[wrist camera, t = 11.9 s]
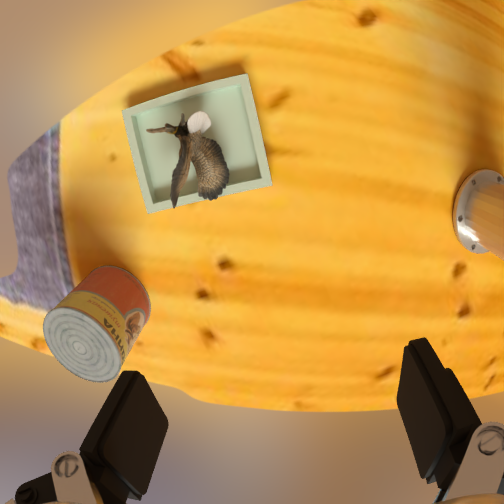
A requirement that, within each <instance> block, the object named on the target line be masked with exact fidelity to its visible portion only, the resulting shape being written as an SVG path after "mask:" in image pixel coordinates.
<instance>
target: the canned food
mask: <svg viewBox="0 0 504 504" xmlns="http://www.w3.org/2000/svg"><path fill="white" fill-rule="evenodd" d="M150 312H151V304H150V299H149V296H148V294H147V292H146V290H145V288H144V287H143V285H142V284H141V282H140V281H139V280H138V279H137V278H136V277H135V276H133V275H132V274H131V273H129V272H128V271H126V270H124V269H122V268H119V267H116V266H101V267H98V268H96V269H94V270H93V271H92V272H91V273H90V274H89V275H88V276H87V277H86V278H85V279H84V280H83V281H82V282H81V283H80V284H79V285H78V286H77V287H76V288H74V289H73V290H72V291H71V292H70V293H69V294H68V295H67V296H66V297H65V298H64V299H63V300H62V301H61V302H60V303H59V304H58V305H57V306H56V307H55V308H54V309H52V310H51V311H50V312H49V313H48V314H47V315H46V317H45V319H44V322H43V332H44V337H45V340H46V343H47V345H48V347H49V349H50V350H51V352H52V354H53V355H54V356H55V358H56V359H57V360H58V361H59V362H60V363H61V364H62V365H63V366H64V367H65V368H66V369H68V370H69V371H70V372H72V373H73V374H75V375H76V376H78V377H80V378H82V379H85V380H88V381H92V382H100V383H101V382H108V381H110V380H112V379H114V378H115V377H116V376H117V375H118V374H119V372H120V369H121V366H122V365H123V363H124V361H125V359H126V357H127V355H128V354H129V352H130V350H131V348H132V346H133V345H134V343H135V341H136V339H137V337H138V336H139V334H140V332H141V330H142V328H143V327H144V325H145V324H146V323H147V321H148V319H149V316H150Z"/></svg>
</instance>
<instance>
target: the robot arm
mask: <svg viewBox="0 0 504 504" xmlns="http://www.w3.org/2000/svg"><path fill="white" fill-rule="evenodd" d="M453 224H454V230H455V233H456V236H457V238H458V240H459V242H460V243H461V244H462V245H463V246H464V247H465V248H466V249H468V250H469V251H471V252H473V253H486V252H489V251H490V252H492V253H493V254H495V255H496V256H498V257H499V258H501V259H502V260H503V261H504V177H503V176H502V175H501V174H499V173H498V172H496V171H493V170H488V169H481V170H478V171H475V172H474V173H472V174H471V175H469V176H468V177H467V179H466V180H465V181H464V182H463V184H462V185H461V187H460V189H459V191H458V193H457V196H456V199H455V203H454V209H453ZM397 405H398V408H399V411H400V414H401V417H402V420H403V423H404V426H405V428H406V432H407V434H408V438H409V441H410V444H411V447H412V450H413V454H414V457H415V460H416V463H417V467H418V470H419V473H420V476H421V478H422V479H424V478H426V480H427V484H430V483H432V482H437V485H438V488H440V491H439V492H438V495H437V496H436V499H435V500H434V502H433V504H504V425H503V424H501V423H498V422H488V423H484V424H482V423H481V421H480V419H479V418H478V416H477V414H476V412H475V410H474V408H473V406H472V404H471V402H470V401H469V399H468V397H467V395H466V393H465V392H464V390H463V388H462V386H461V385H460V383H459V381H458V379H457V378H456V376H455V374H454V373H453V371H452V370H451V369H450V368H446V369H445V368H444V367H443V365H442V363H441V361H440V360H439V358H438V356H437V355H436V353H435V351H434V350H433V348H432V346H431V345H430V343H429V342H428V340H427V339H426V338H425V337H424V338H420V339H416V340H411V341H410V342H409V344H408V346H405V347H404V353H403V361H402V368H401V375H400V381H399V387H398V393H397ZM167 429H168V420H167V417H166V415H165V414H164V412H163V410H162V408H161V407H160V405H159V403H158V401H157V400H156V398H155V396H154V394H153V392H152V390H151V388H150V386H149V384H148V383H147V381H146V379H145V377H144V376H143V375H141V374H140V372H138V371H123V372H122V373H121V375H120V376H119V378H118V380H117V382H116V383H115V385H114V387H113V389H112V390H111V392H110V394H109V396H108V397H107V399H106V401H105V403H104V405H103V406H102V408H101V410H100V412H99V413H98V415H97V417H96V419H95V421H94V423H93V424H92V426H91V428H90V430H89V432H88V434H87V436H86V437H85V439H84V441H83V443H82V445H81V447H80V449H79V450H80V451H81V452H80V454H78V453H75V452H73V451H67V452H63V453H61V454H59V455H58V456H57V457H56V458H55V459H54V461H53V462H52V466H51V472H50V473H48V474H45V475H43V476H41V477H38V478H36V479H34V480H31V481H28V482H26V483H24V484H22V485H21V486H20V487H19V488H18V489H17V491H16V495H15V500H13V499H11V500H10V501H8V502H7V503H5V504H126V500H127V498H130V499H135V500H139V501H140V500H141V497H142V495H144V494H145V493H146V492H147V489H148V486H149V483H150V480H151V477H152V474H153V471H154V468H155V465H156V462H157V459H158V456H159V452H160V450H161V446H162V444H163V441H164V438H165V435H166V432H167Z"/></svg>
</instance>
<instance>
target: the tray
mask: <svg viewBox="0 0 504 504" xmlns="http://www.w3.org/2000/svg"><path fill="white" fill-rule="evenodd" d="M197 111H204V112H205V113H207V114H208V116H209V118H210V120H211V126H210V127H209V128H208V129H207V130H206V131H205V132H204V133H203V134H202V137H206V139H207V138H209V139H213V140H214V141H216V142H217V144H219V145H220V147H221V150H222V154H223V155H224V158H225V160H224V161H226V163H227V167H228V169H229V174H230V175H229V183H228V184H226V188H225V189H223V192H222V195H218V197H220V196H225V195H229V194H234V193H238V192H243V191H248V190H253V189H258V188H262V187H267V186H272V181H271V176H270V171H269V166H268V162H267V157H266V152H265V148H264V143H263V139H262V134H261V130H260V125H259V121H258V116H257V112H256V108H255V103H254V99H253V95H252V90H251V86H250V82H249V78H248V74H242V75H238V76H233V77H229V78H224V79H220V80H216V81H212V82H208V83H205V84H201V85H197V86H194V87H190V88H187V89H183V90H180V91H177V92H174V93H170V94H167V95H164V96H161V97H158V98H155V99H152V100H149V101H146V102H144V103H141V104H138V105H135V106H133V107H130V108H127V109H125V110H122V114H123V119H124V123H125V128H126V132H127V137H128V141H129V145H130V149H131V153H132V157H133V161H134V165H135V169H136V173H137V177H138V181H139V184H140V188H141V192H142V195H143V199H144V202H145V206H146V209H147V213H148V214H150V213H153V212H157V211H161V210H165V209H169V208H173V206H172V202H171V197H170V194H171V184H172V182H171V181H172V174H173V170H174V169H175V168H176V164H177V163H178V160H179V150H180V147H181V145H180V141H179V139H178V138H177V137H175V135H174V134H168V133H166V132H162V133H149V132H147V131H146V129H156V128H161V127H165V124H166V123H168V124H170V125H172V126H178V125H179V123H180V121H181V114H182V113H183V114H184V116H185V122H186V121H187V120H188V118H189V117H190V116H191V115H192V114H194V113H195V112H197ZM207 199H208V198H207ZM207 199H204V198H203V197H199V196H198V179H197V175H196V170H195V167H194V165H193V163H192V162H190V169H189V174H188V178H187V181H186V183H185V184H184V186H183V187H182V189H181V190H180V193H179V196H178V201H177V205H176V206H175V207H177V206H181V205H186V204H190V203H194V202H198V201H203V200H207Z"/></svg>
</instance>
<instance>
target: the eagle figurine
mask: <svg viewBox="0 0 504 504" xmlns="http://www.w3.org/2000/svg"><path fill="white" fill-rule="evenodd" d="M210 126H211V120H210V118H209V116H208V114H207V113H205V112H204V111H197V112H195V113H194V114H192V115H191V116H190V117H189V118H188V120H187V121H186V122H185V116H184V114H183V113H182V114H181V121H180V123H179V125H178V126H172V125H170V124H168V123H166V124H165V127H161V128H156V129H146V131H147V132H149V133H162V132H166V133H168V134H174V135H175V137H177V138H178V139H179V141H180V145H181V147H180V150H179V160H178V163H177V164H176V168H175V169H174V170H173V174H172V181H171V182H172V184H171V194H170V197H171V202H172V206H173V208H175V206H176V205H177V201H178V196H179V193H180V190H181V189H182V187H183V186H184V184H185V183H186V181H187V178H188V174H189V169H190V162H192V163H193V165H194V167H195V170H196V175H197V179H198V196H199V197H203V198H204V199H207V198H208V199H209V200H210V201H212V200H213V199H217V198H218V195H222V192H223V189H225V188H226V184H228V183H229V175H230V174H229V169H228V167H227V163H226V161H224V160H225V158H224V155H223V154H222V150H221V147H220V145H219V144H217V142H216V141H214V140H213V139H209V138H207V139H206V137H202V134H203V133H204V132H205V131H206V130H207V129H208V128H209V127H210Z"/></svg>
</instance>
